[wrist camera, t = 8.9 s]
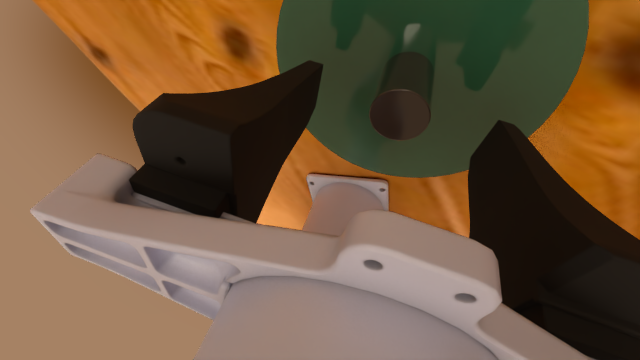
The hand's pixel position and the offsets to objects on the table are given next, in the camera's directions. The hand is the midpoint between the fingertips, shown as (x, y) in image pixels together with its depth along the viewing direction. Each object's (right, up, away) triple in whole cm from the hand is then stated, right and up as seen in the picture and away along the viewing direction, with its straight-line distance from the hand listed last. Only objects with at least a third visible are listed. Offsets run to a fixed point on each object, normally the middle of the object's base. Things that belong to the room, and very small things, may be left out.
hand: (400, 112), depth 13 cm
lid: (+1, +2, +2) cm, 3 cm away
